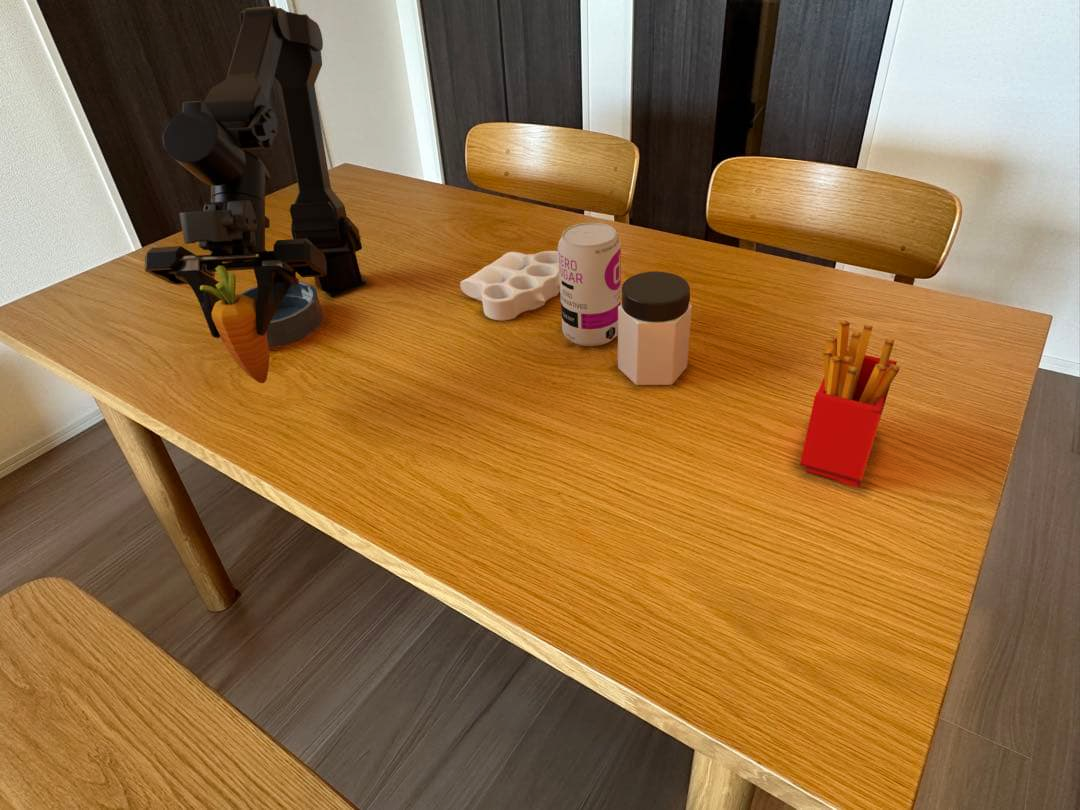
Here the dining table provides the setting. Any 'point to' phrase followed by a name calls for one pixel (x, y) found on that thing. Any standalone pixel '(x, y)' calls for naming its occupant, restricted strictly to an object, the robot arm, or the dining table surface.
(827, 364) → the french fries container
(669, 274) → the jar
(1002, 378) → the dining table surface
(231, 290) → the carrot
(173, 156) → the robot arm
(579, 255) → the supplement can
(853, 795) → the dining table surface
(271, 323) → the bowl
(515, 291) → the white holed block
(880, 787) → the dining table surface
